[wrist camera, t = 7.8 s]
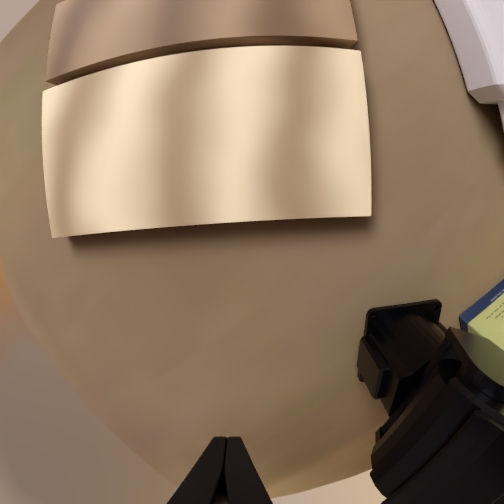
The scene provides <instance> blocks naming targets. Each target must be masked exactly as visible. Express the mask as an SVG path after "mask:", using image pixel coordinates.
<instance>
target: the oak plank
mask: <svg viewBox="0 0 504 504" xmlns="http://www.w3.org/2000/svg"><path fill="white" fill-rule="evenodd" d="M42 148H43V167H44V179H45V190H46V199H47V207H48V214H49V221H50V227H51V233H52V238H57V237H66V236H75V235H85V234H95V233H105V232H115V231H126V230H137V229H149V228H161V227H173V226H187V225H200V224H215V223H230V222H246V221H263V220H282V219H303V218H327V217H355V216H371V155H370V135H369V120H368V108H367V97H366V88H365V79H364V71H363V64H362V57H361V51H358V50H349V49H340V48H328V47H312V46H248V47H232V48H220V49H210V50H201V51H193V52H186V53H180V54H173V55H168V56H162V57H157V58H152V59H147V60H142V61H138V62H133V63H129V64H125V65H121V66H117V67H114V68H110V69H106V70H103V71H99V72H96V73H93V74H89V75H86V76H83V77H80V78H77V79H74V80H71V81H69V82H66V83H63V84H60V85H58V86H55V87H52V88H50V89H47V90H45V91H43V102H42Z"/></svg>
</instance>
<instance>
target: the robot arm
mask: <svg viewBox="0 0 504 504" xmlns="http://www.w3.org/2000/svg"><path fill="white" fill-rule="evenodd" d="M435 305H437V306H436V307H435ZM434 307H435V308H434ZM441 307H442V303H441V302H440V301H439V300H437V299H434V300H427V301H421V302H414V303H407V304H400V305H393V306H385V307H377V308H372V309H370V310H369V311H368V312H367V314H366V322H365V330H364V336H363V337H362V338H361V340H360V347H359V354H358V360H357V367H358V369H359V370H358V378H359V380H360V381H361V382H365V383H366V385H367V387H368V389H369V391H370V393H371V395H372V397H373V398H374V399H375V400H377V399H380V400H381V402H382V404H383V406H384V408H385V410H386V412H387V414H388V416H389V417H390V418H389V419H388V420H387V421H386V423H385V424H384V425H383V426H381V427H380V428H379V429H378V430H377V431H376V444H375V446H374V447H373V451H372V454H371V462H372V469H373V470H372V471H371V472H370V476H371V478H372V480H373V482H374V484H375V486H376V487H377V489H378V490H379V491H380V493H381V494H382V495H383V496H385V497H386V498H387V499H386V500H385V501H383V502H382V503H381V504H504V350H502V349H501V348H500V347H498V346H497V345H496V344H494V343H493V342H492V341H490V340H489V339H487V338H484V337H481V336H478V335H474V334H471V333H468V332H465V331H462V330H459V329H455V328H452V327H449V328H448V330H447V329H446V328H445V327H444V326H443V325H442V324H441V323H440V322H439V317H440V312H441ZM373 314H376V315H375V316H374V317H372V315H373ZM167 504H273V503H272V501H271V499H270V497H269V495H268V493H267V491H266V489H265V487H264V485H263V483H262V481H261V479H260V477H259V475H258V473H257V471H256V469H255V467H254V465H253V463H252V460H251V458H250V456H249V454H248V452H247V450H246V447H245V445H244V443H243V441H242V439H241V437H239V436H237V437H228V438H227V437H214V438H213V439H212V440H211V442H210V443H209V444H208V446H207V447H206V449H205V450H204V452H203V453H202V455H201V456H200V458H199V459H198V461H197V462H196V464H195V465H194V466H193V468H192V469H191V471H190V472H189V474H188V475H187V476H186V478H185V479H184V481H183V482H182V483H181V485H180V486H179V488H178V489H177V491H176V492H175V493H174V494H173V496H172V497H171V498H170V500H169V501H168V502H167Z"/></svg>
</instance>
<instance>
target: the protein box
mask: <svg viewBox="0 0 504 504" xmlns="http://www.w3.org/2000/svg"><path fill="white" fill-rule="evenodd" d="M459 318H460V324H461V330H462V331H465V332H468V333H471V334H474V335H478V336H481V337H484V338H487V339H489V340H490V341H492V342H493V343H494V344H496V345H497V346H498V347H500V348H501V349H502V350H504V279H503V280H502V281H501V282H500V283H499V284H498V285H496V286H495V287H494V288H493V289H492V290H491V291H489V292H488V293H487V294H486V295H485V296H483V297H482V298H481V299H480V300H478V301H477V302H476V303H475V304H473V305H472V306H471V307H469V308H468V309H467V310H466V311H464V312H463V313H462V314H460V316H459Z"/></svg>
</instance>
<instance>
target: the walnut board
mask: <svg viewBox="0 0 504 504" xmlns="http://www.w3.org/2000/svg"><path fill="white" fill-rule="evenodd" d="M357 41H358V39H357V34H356V28H355V23H354V18H353V13H352V8H351V3H350V0H65V1H63V2H61V3H59V4H57V5H56V10H55V14H54V19H53V25H52V30H51V36H50V43H49V50H48V58H47V68H46V79H45V81H46V82H49V83H52V84H55V85H58V84H61V83H64V82H66V81H69V80H72V79H75V78H78V77H81V76H84V75H87V74H90V73H93V72H97V71H100V70H103V69H107V68H111V67H114V66H118V65H122V64H126V63H130V62H134V61H139V60H143V59H148V58H153V57H158V56H163V55H168V54H174V53H181V52H187V51H194V50H202V49H211V48H221V47H234V46H251V45H308V46H325V47H338V48H348V49H350V48H351V47H352V46H353V45H354V44H355V43H356V42H357Z"/></svg>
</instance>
